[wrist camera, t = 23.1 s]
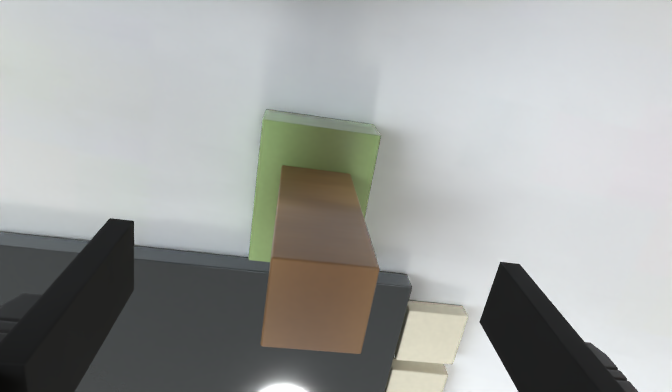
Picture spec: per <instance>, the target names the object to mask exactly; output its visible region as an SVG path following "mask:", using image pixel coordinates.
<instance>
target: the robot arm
mask: <svg viewBox="0 0 672 392" xmlns="http://www.w3.org/2000/svg"><path fill="white" fill-rule="evenodd" d="M133 291H134V221H129V220H120V219H111V218H110V219H109V220H108V221H107V222H106V223H105V225H104V226H103V227H102V228H101V229H100V230H99V231H98V232H97V234H96V235H95V236H94V237H93V238H92V239H91V240H90V242H89V243H88V244H87V245H86V246H85V247H84V248H83V249H82V251H81V252H80V253H79V254H78V255H77V256H76V257H75V258H74V260H73V261H72V262H71V263H70V264H69V265H68V266H67V268H66V269H65V270H64V271H63V272H62V273H61V274H60V275H59V277H58V278H57V279H56V280H55V281H54V282H53V283H52V284H51V286H50V287H49V288H48V289H47V290H46V291H45V292H44V294H43V295H42V294H31V293H22V294H20V295H18V296H16V297H14V298H13V299H11V300H9V301H7V302H5V303H4V304H2V305H1V306H0V392H75V390H76V389H77V387H78V385H79V383H80V382H81V380H82V378H83V377H84V375H85V373H86V371H87V370H88V368H89V366H90V365H91V363H92V361H93V359H94V358H95V356H96V354H97V353H98V351H99V349H100V347H101V346H102V344H103V342H104V340H105V339H106V337H107V335H108V334H109V332H110V330H111V328H112V327H113V325H114V323H115V322H116V320H117V318H118V316H119V315H120V313H121V311H122V310H123V308H124V306H125V304H126V303H127V301H128V299H129V298H130V296H131V294H132V292H133ZM480 323H481V325H482V327H483V329H484V331H485V332H486V334H487V336H488V338H489V340H490V341H491V343H492V345H493V347H494V349H495V350H496V352H497V354H498V356H499V358H500V359H501V361H502V363H503V365H504V367H505V368H506V370H507V372H508V374H509V375H510V377H511V379H512V381H513V383H514V384H515V386H516V388H517V390H518V392H638V391H637V390H636V389H635V387H634V386H633V385H632V384H631V383H630V382H629V381H627V378H626V377H625V376H624V375H623V374H622V372H621V371H619V370H618V368H617V367H616V365H615V364H614V363H613V362H612V361H611V360H610V359H609V357H608V356H607V355H606V354H605V353H603V352H602V351H601V350H599V349H598V348H597V347H595V346H594V345H593V344H591V343H587V342H584V341H583V340H582V338H581V337H580V336H579V335H578V334H577V332H576V331H575V330H574V329H573V328H572V326H571V325H570V324H569V323H568V322H567V320H566V319H565V318H564V317H563V316H562V314H561V313H560V312H559V311H558V310H557V308H556V307H555V306H554V305H553V304H552V302H551V301H550V300H549V299H548V298H547V296H546V295H545V294H544V293H543V292H542V290H541V289H540V288H539V287H538V286H537V284H536V283H535V282H534V281H533V280H532V278H531V277H530V276H529V275H528V274H527V272H526V271H525V270H524V269H523V268H522V266H521V265H520V264H514V263H505V262H500V264H499V267H498V270H497V273H496V276H495V279H494V282H493V285H492V287H491V290H490V293H489V296H488V299H487V302H486V305H485V308H484V311H483V314H482V316H481V319H480Z"/></svg>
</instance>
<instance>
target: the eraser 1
mask: <svg viewBox="0 0 672 392" xmlns="http://www.w3.org/2000/svg"><path fill="white" fill-rule="evenodd" d="M467 319H468V315H467V313H466V311H465V309H464V308H463V306H458V305H448V304H439V303H429V302H419V301H408V305H407V308H406V312H405V316H404V320H403V324H402V327H401V331H400V335H399V339H398V343H397V347H396V350H395V357H396V360H404V361H416V362H428V363H440V364H453V362H454V359H455V356H456V353H457V350H458V347H459V344H460V341H461V338H462V335H463V332H464V328H465V325H466V322H467Z"/></svg>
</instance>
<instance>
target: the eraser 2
mask: <svg viewBox="0 0 672 392" xmlns="http://www.w3.org/2000/svg"><path fill="white" fill-rule="evenodd" d="M447 377H448V373H447V371H446V368H445V366H444V364H440V363H428V362H416V361H404V360H396V359H395V358H393V362H392V366H391V369H390V373H389V377H388V381H387V385H386V388H385V392H443V389H444V386H445V383H446V380H447Z"/></svg>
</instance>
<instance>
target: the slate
mask: <svg viewBox="0 0 672 392" xmlns="http://www.w3.org/2000/svg"><path fill="white" fill-rule="evenodd" d="M89 242H90V241H83V240H74V239H64V238H55V237H45V236H36V235H26V234H17V233H7V232H0V306H1V305H2V304H4V303H5V302H7V301H9V300H11V299H13V298H14V297H16V296H18V295H20V294H22V293H31V294H42V295H43V294H44V292H45V291H46V290H47V289H48V288H49V287H50V286H51V284H52V283H53V282H54V281H55V280H56V279H57V278H58V277H59V275H60V274H61V273H62V272H63V271H64V270H65V269H66V268H67V266H68V265H69V264H70V263H71V262H72V261H73V260H74V258H75V257H76V256H77V255H78V254H79V253H80V252H81V251H82V249H83V248H84V247H85V246H86V245H87V244H88V243H89ZM269 267H270V262H263V261H253V260H249V259H248V258H246V257H236V256H227V255H217V254H208V253H198V252H189V251H179V250H169V249H160V248H150V247H141V246H134V291H133V292H132V294H131V296H130V298H129V299H128V301H127V303H126V304H125V306H124V308H123V310H122V311H121V313H120V315H119V316H118V318H117V320H116V322H115V323H114V325H113V327H112V328H111V330H110V332H109V334H108V335H107V337H106V339H105V340H104V342H103V344H102V346H101V347H100V349H99V351H98V353H97V354H96V356H95V358H94V359H93V361H92V363H91V365H90V366H89V368H88V370H87V371H86V373H85V375H84V377H83V378H82V380H81V382H80V383H79V385H78V387H77V389H76V390H75V392H385V388H386V385H387V381H388V377H389V373H390V369H391V366H392V362H393V358H394V354H395V350H396V347H397V343H398V339H399V335H400V331H401V327H402V324H403V320H404V316H405V312H406V308H407V305H408V301H409V297H410V293H411V289H412V286H411V283H410V281H409V278H408V276H407V274H399V273H389V272H380V271H379V275H378V279H377V284H376V288H375V293H374V297H373V302H372V306H371V311H370V315H369V320H368V324H367V329H366V333H365V337H364V342H363V346H362V351H361V353H360V354H353V353H340V352H327V351H314V350H301V349H288V348H275V347H262V346H261V335H262V327H263V318H264V310H265V301H266V293H267V284H268V276H269Z"/></svg>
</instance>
